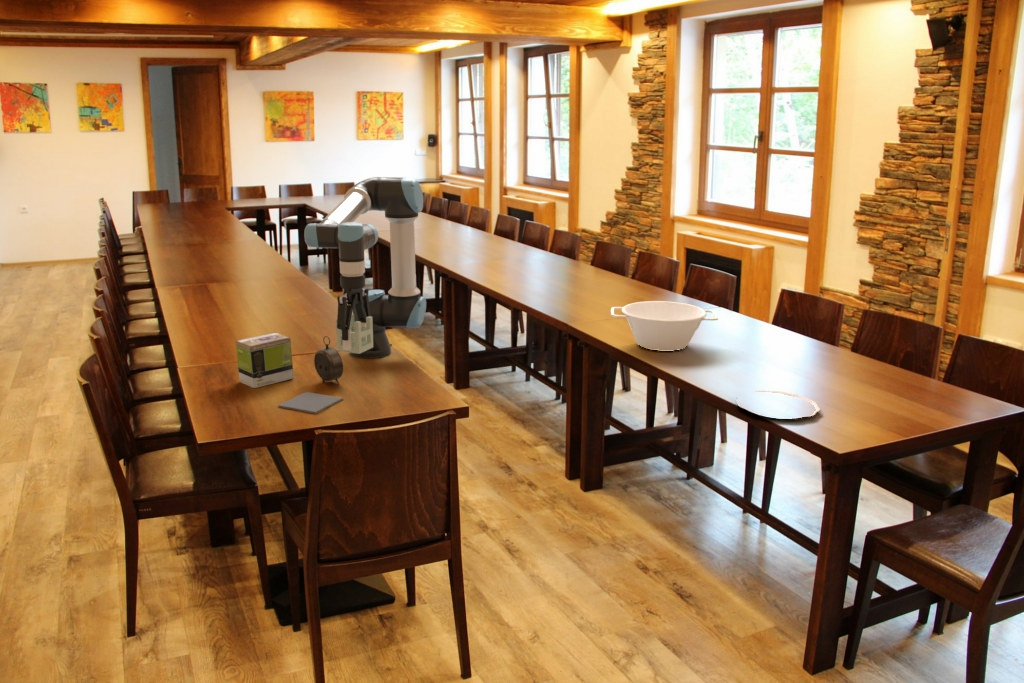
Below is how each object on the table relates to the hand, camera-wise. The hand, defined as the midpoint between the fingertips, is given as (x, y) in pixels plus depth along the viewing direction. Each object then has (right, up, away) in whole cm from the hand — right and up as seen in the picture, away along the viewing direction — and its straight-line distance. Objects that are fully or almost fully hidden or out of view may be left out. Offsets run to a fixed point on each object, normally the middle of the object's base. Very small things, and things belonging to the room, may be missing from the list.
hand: (355, 346), depth 276 cm
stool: (0, -1, 0) cm, 1 cm away
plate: (+131, -20, 0) cm, 132 cm away
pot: (+107, 0, +68) cm, 126 cm away
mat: (-14, -18, 0) cm, 22 cm away
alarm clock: (-12, -13, +20) cm, 27 cm away
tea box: (-33, -12, +22) cm, 42 cm away
